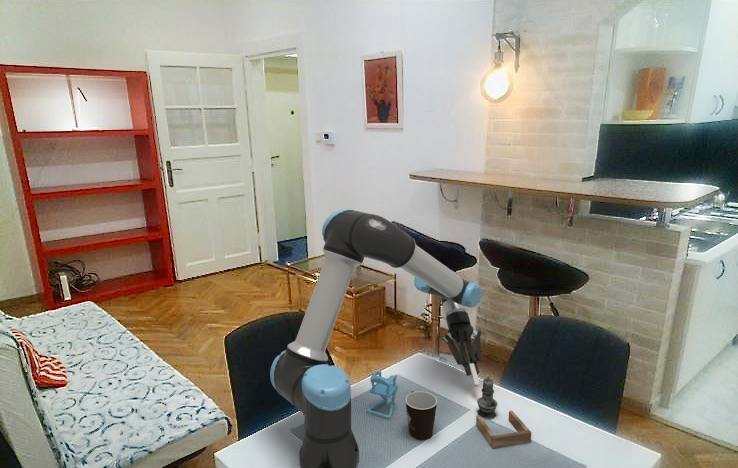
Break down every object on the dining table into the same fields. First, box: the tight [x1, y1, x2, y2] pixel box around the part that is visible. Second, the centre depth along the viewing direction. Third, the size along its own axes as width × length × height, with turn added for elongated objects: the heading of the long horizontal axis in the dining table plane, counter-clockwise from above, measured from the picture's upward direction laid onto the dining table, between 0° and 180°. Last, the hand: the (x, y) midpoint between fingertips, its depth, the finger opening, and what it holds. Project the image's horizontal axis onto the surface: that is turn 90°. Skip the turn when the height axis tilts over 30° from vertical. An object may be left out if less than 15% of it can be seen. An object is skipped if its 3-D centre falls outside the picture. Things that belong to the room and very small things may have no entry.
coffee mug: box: [404, 390, 438, 441], centre depth 125 cm, size 12×9×10 cm
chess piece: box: [476, 376, 499, 420], centre depth 131 cm, size 6×6×12 cm
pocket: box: [475, 410, 532, 450], centre depth 123 cm, size 10×11×3 cm
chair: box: [366, 370, 399, 421], centre depth 134 cm, size 8×8×12 cm
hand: (476, 385), depth 139 cm, fingers closed
